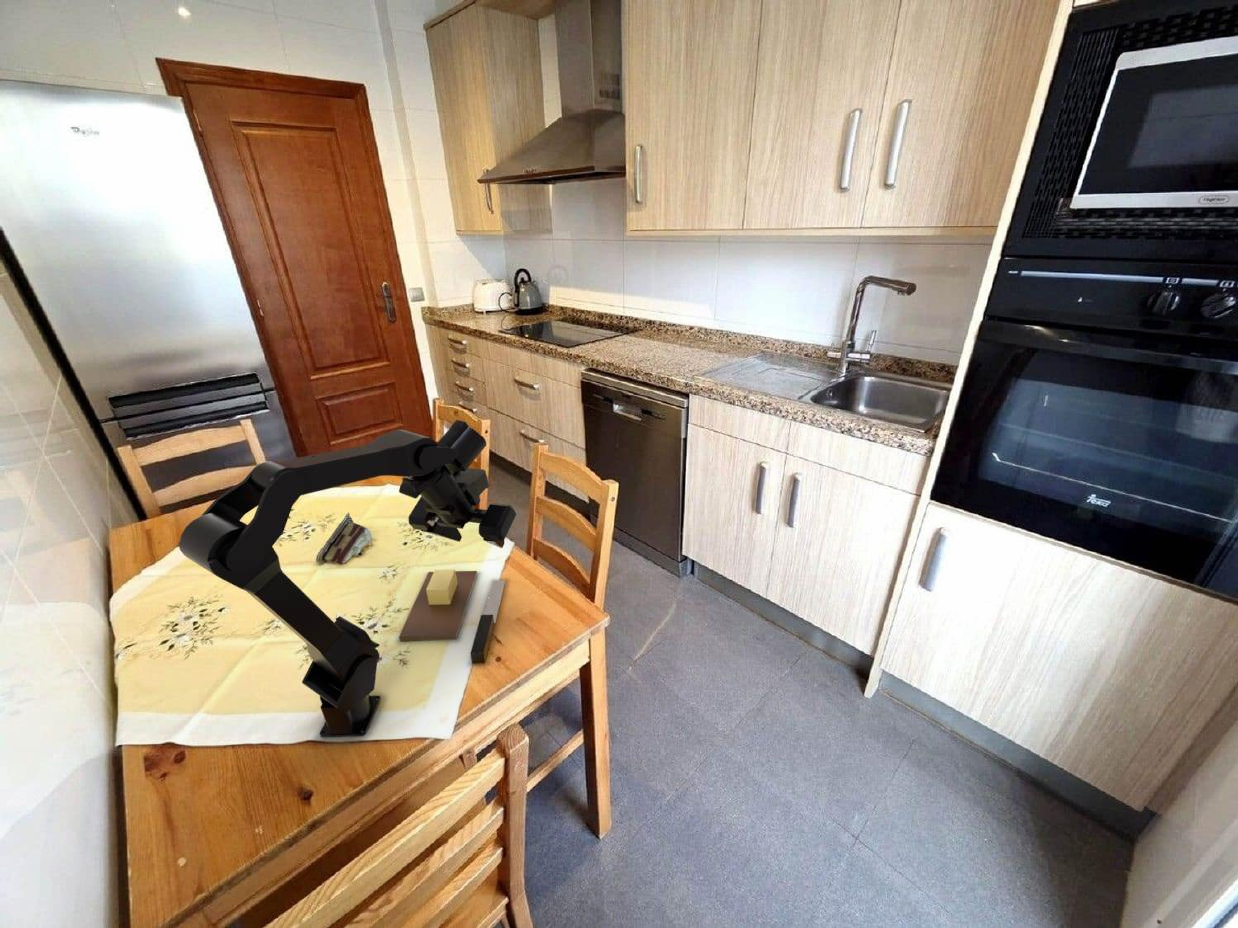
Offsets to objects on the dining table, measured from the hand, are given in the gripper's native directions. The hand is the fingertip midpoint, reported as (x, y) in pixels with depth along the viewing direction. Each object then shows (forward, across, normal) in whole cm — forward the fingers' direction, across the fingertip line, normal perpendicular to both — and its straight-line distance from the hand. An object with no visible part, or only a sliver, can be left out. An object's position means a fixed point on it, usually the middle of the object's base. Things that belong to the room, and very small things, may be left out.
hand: (481, 542), depth 93 cm
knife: (+11, -2, +10) cm, 15 cm away
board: (+10, +9, +9) cm, 16 cm away
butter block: (+10, +10, +7) cm, 16 cm away
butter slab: (+8, +9, +6) cm, 14 cm away
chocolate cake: (+11, +39, +2) cm, 40 cm away
